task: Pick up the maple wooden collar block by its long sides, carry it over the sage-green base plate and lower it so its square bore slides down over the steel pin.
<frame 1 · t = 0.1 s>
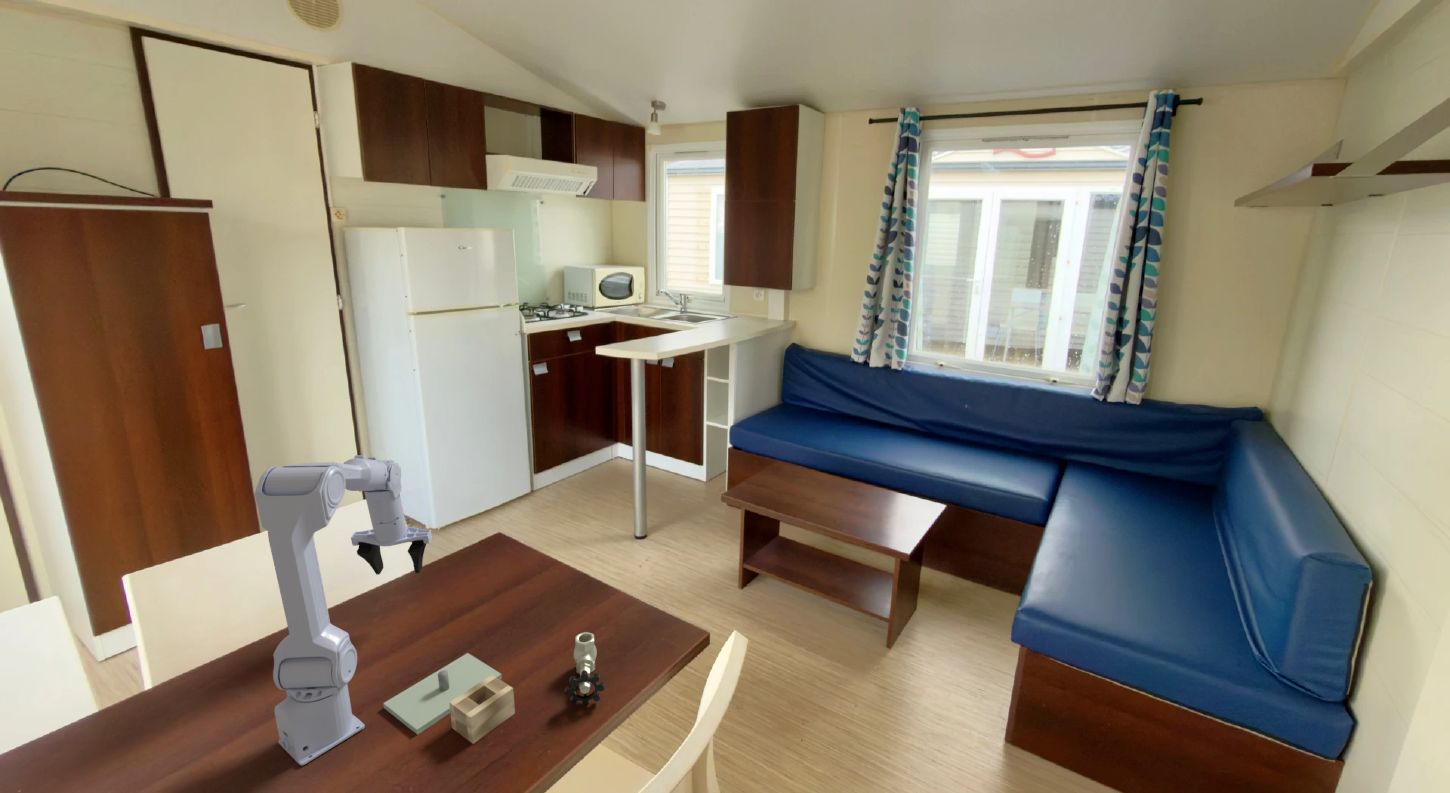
hand: (399, 570, 129), 11 cm above the table, tool pointing down, fingers open, 7 cm apart
collar block: (484, 720, 104), on the table
pin base: (444, 692, 110), on the table
valve: (585, 683, 113), on the table
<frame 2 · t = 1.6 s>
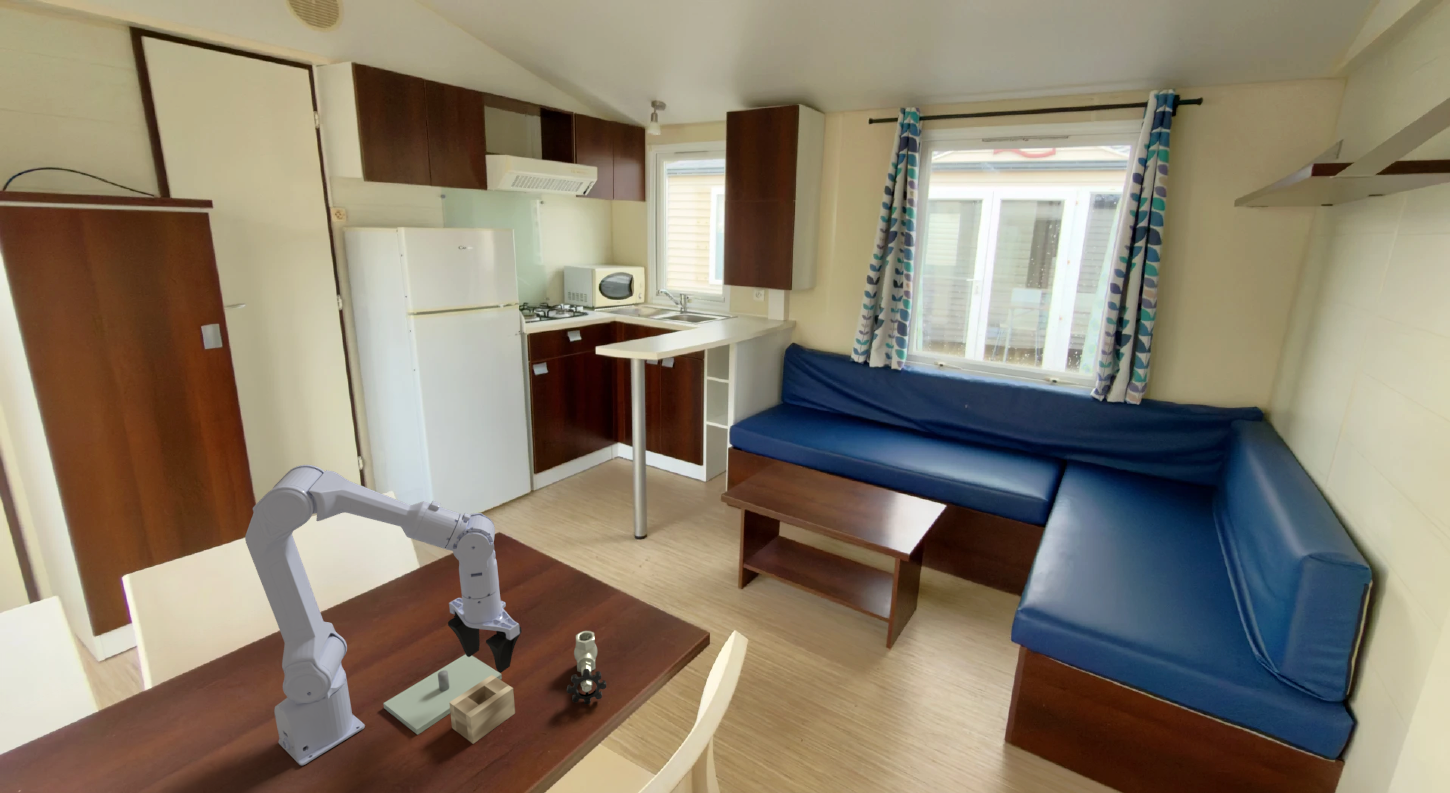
hand: (488, 660, 105), 9 cm above the table, tool pointing down, fingers open, 7 cm apart
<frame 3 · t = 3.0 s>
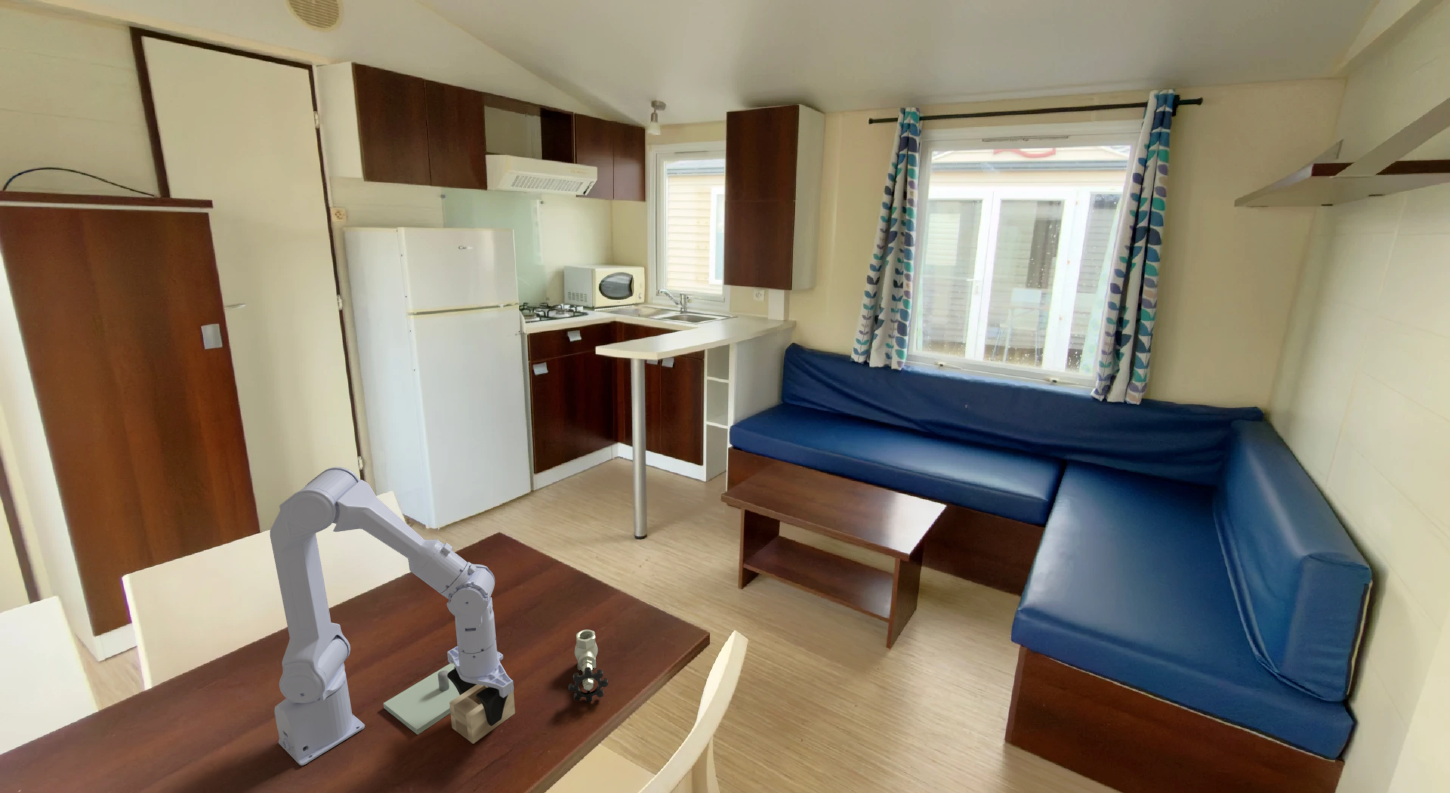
hand: (483, 713, 104), 1 cm above the table, tool pointing down, fingers closed on collar block, 6 cm apart
collar block: (484, 720, 104), on the table, touching gripper
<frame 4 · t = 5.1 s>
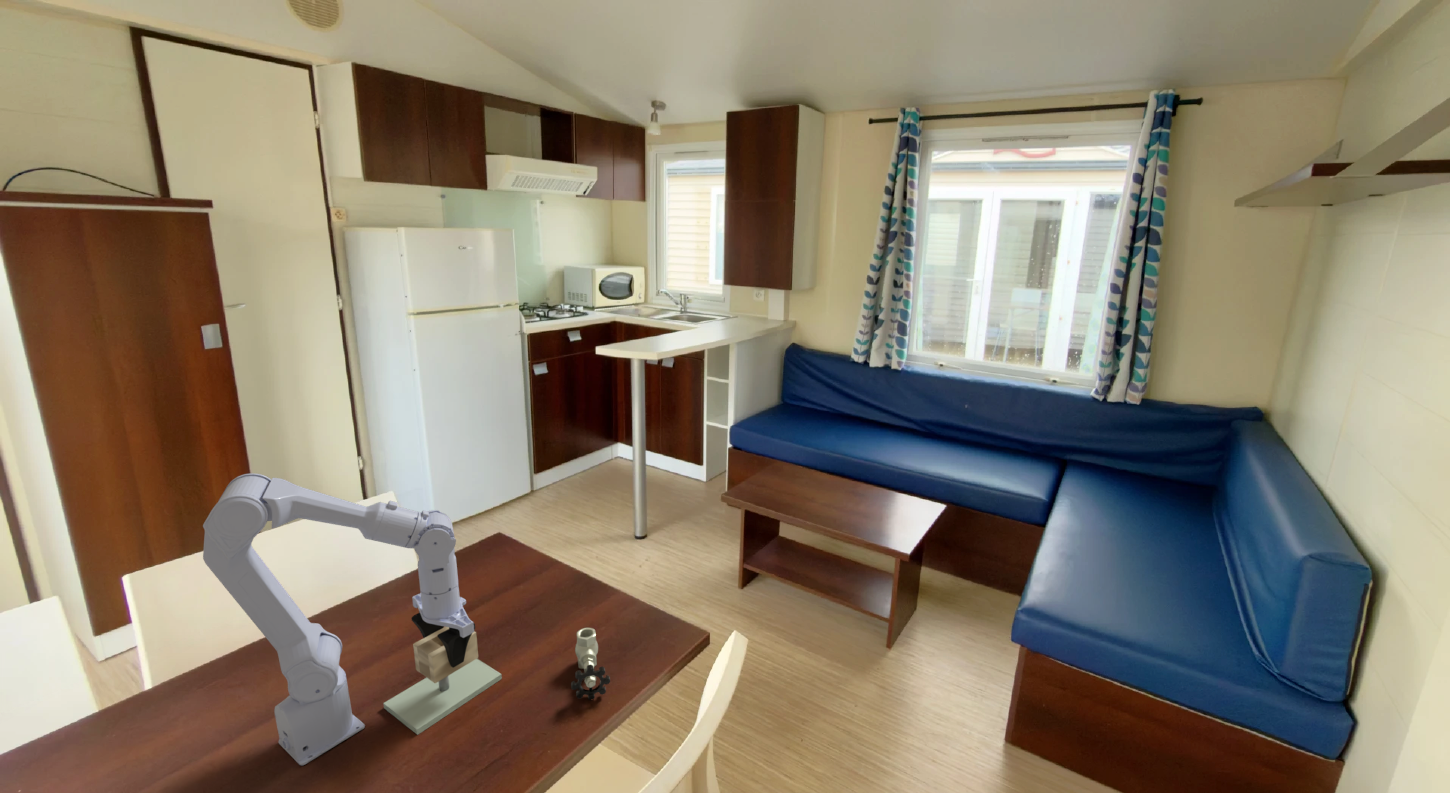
hand: (446, 656, 107), 8 cm above the table, tool pointing down, fingers closed on collar block, 6 cm apart
collar block: (447, 663, 107), point 7 cm above the table, touching gripper
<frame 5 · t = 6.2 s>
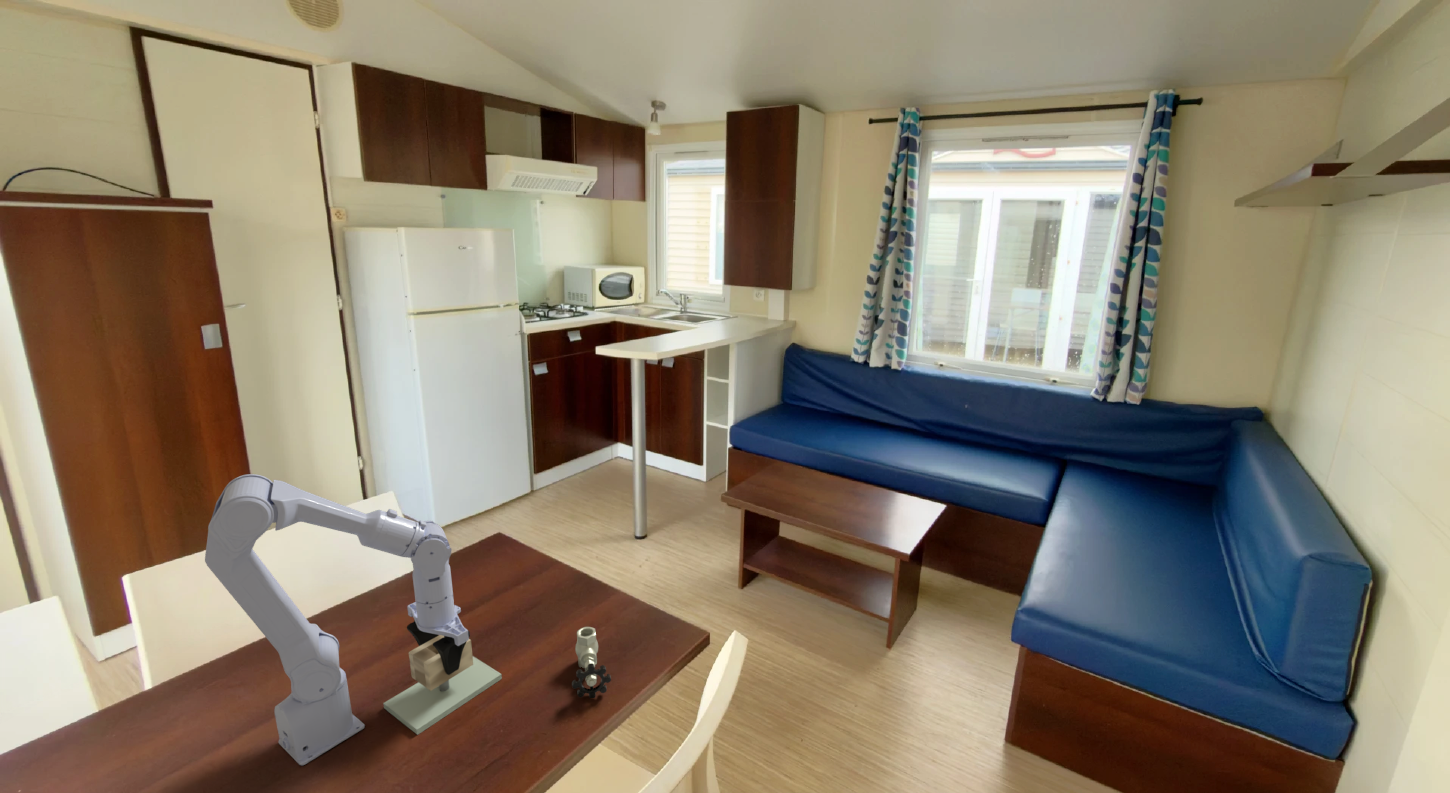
hand: (441, 664, 108), 6 cm above the table, tool pointing down, fingers closed on collar block, 6 cm apart
collar block: (443, 670, 109), point 4 cm above the table, touching gripper
when the fingers open (4 cm above the table, at t = 7.2 s): collar block drops 1 cm, resting on pin base.
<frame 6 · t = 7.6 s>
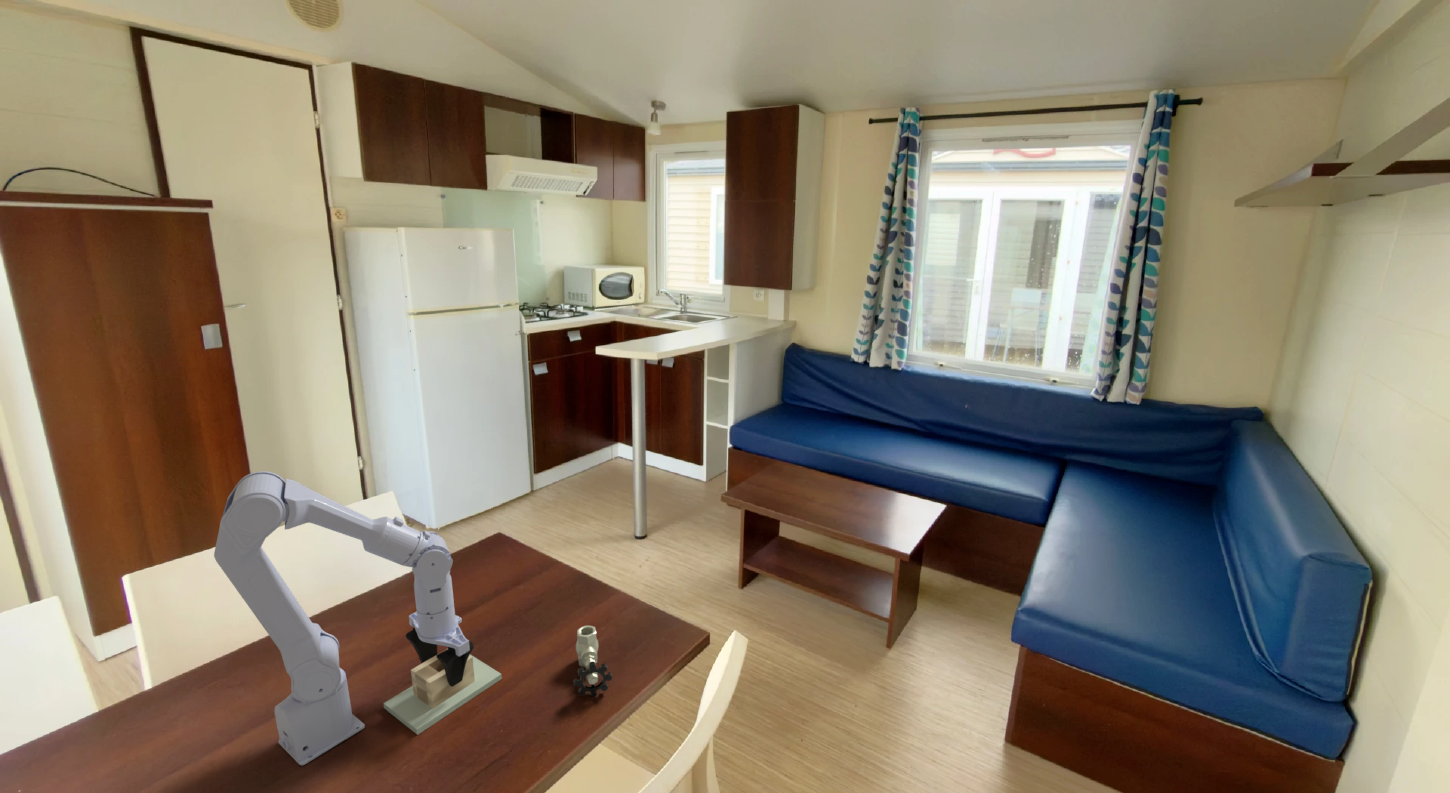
hand: (442, 673, 109), 4 cm above the table, tool pointing down, fingers open, 7 cm apart
collar block: (444, 687, 110), point 1 cm above the table, touching pin base
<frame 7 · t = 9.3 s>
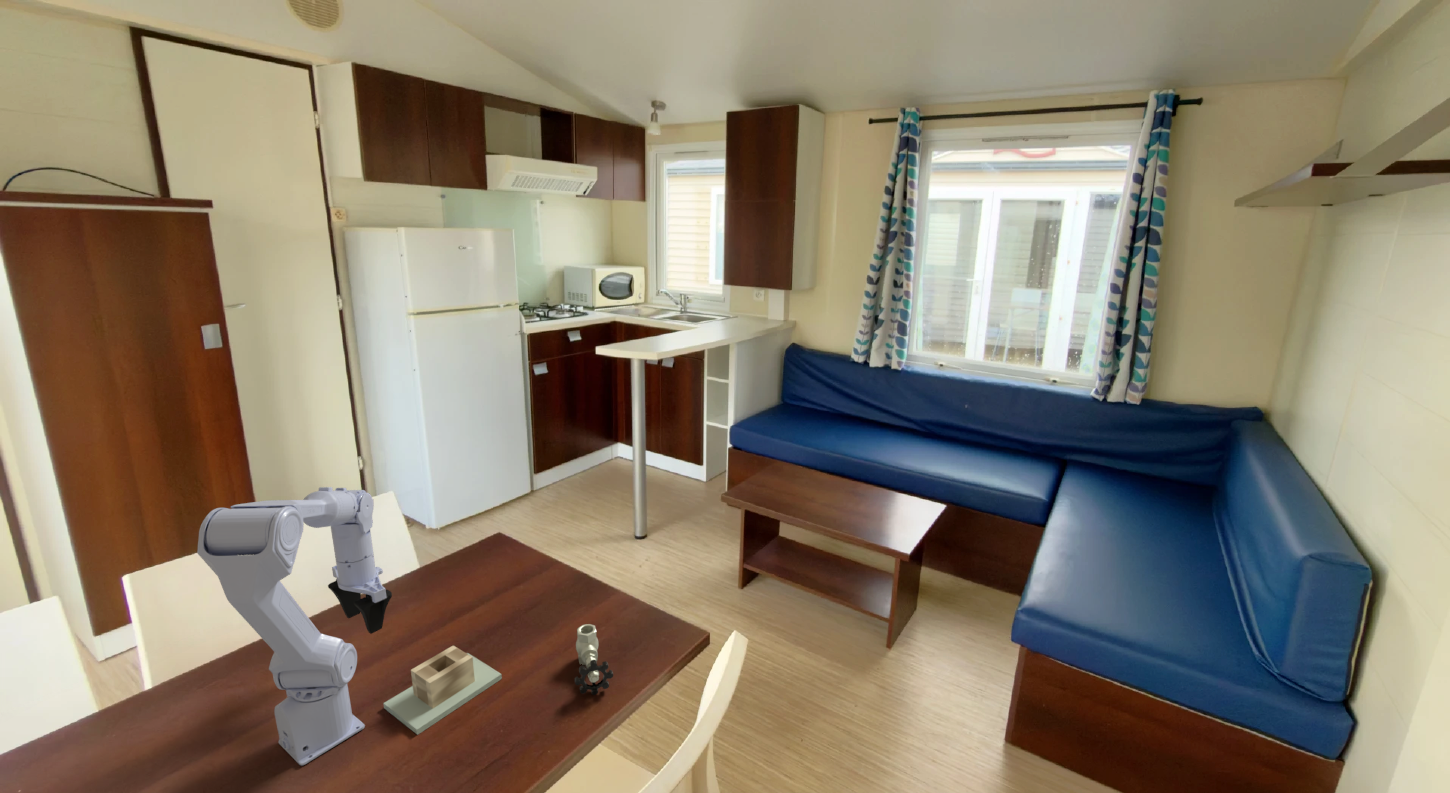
hand: (364, 622, 113), 9 cm above the table, tool pointing down, fingers open, 7 cm apart
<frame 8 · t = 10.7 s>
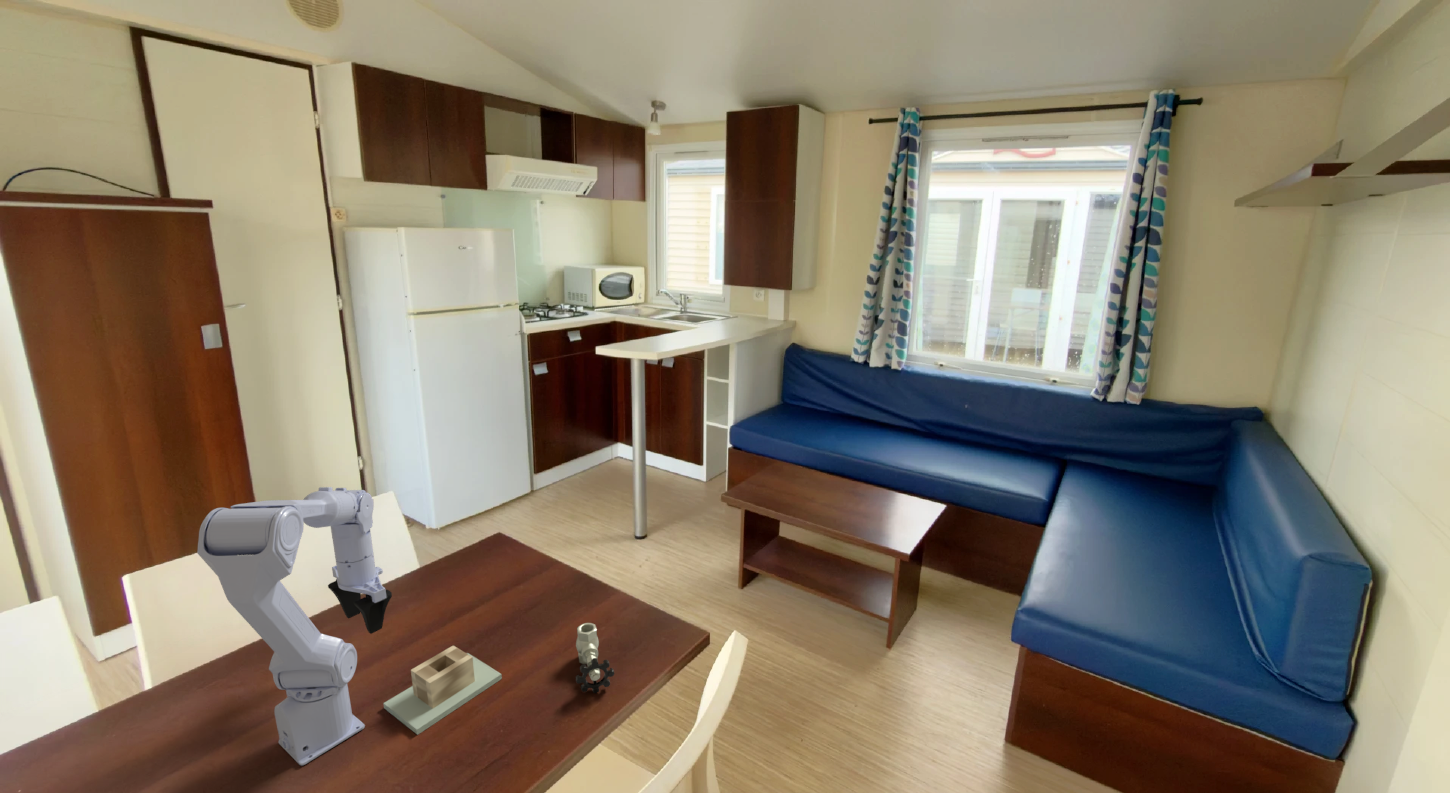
hand: (364, 622, 113), 9 cm above the table, tool pointing down, fingers open, 7 cm apart
at the end: collar block 0.1 cm from the pin base (horizontally); collar block point 1.0 cm above the table; collar block tilted 0° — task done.
